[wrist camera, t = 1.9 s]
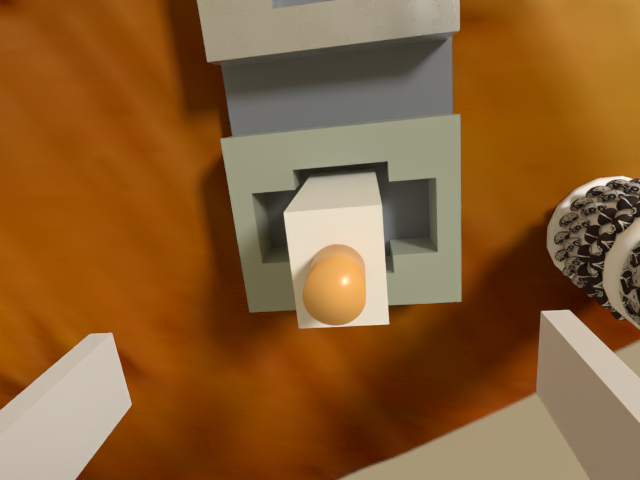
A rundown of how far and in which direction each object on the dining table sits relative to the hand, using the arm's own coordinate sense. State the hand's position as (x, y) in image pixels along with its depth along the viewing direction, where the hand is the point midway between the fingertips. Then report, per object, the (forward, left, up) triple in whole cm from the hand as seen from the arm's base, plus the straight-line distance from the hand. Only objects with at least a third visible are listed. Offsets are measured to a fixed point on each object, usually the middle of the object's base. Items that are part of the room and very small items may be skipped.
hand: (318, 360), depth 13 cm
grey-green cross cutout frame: (0, 0, -19) cm, 20 cm away
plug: (0, 0, -20) cm, 20 cm away
